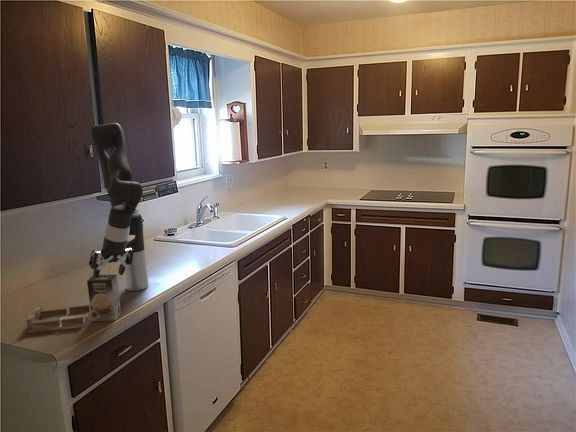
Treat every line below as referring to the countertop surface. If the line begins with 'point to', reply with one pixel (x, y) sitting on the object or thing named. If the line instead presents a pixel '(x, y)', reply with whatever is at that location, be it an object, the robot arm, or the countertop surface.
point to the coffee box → (104, 298)
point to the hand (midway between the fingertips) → (108, 275)
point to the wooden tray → (57, 318)
